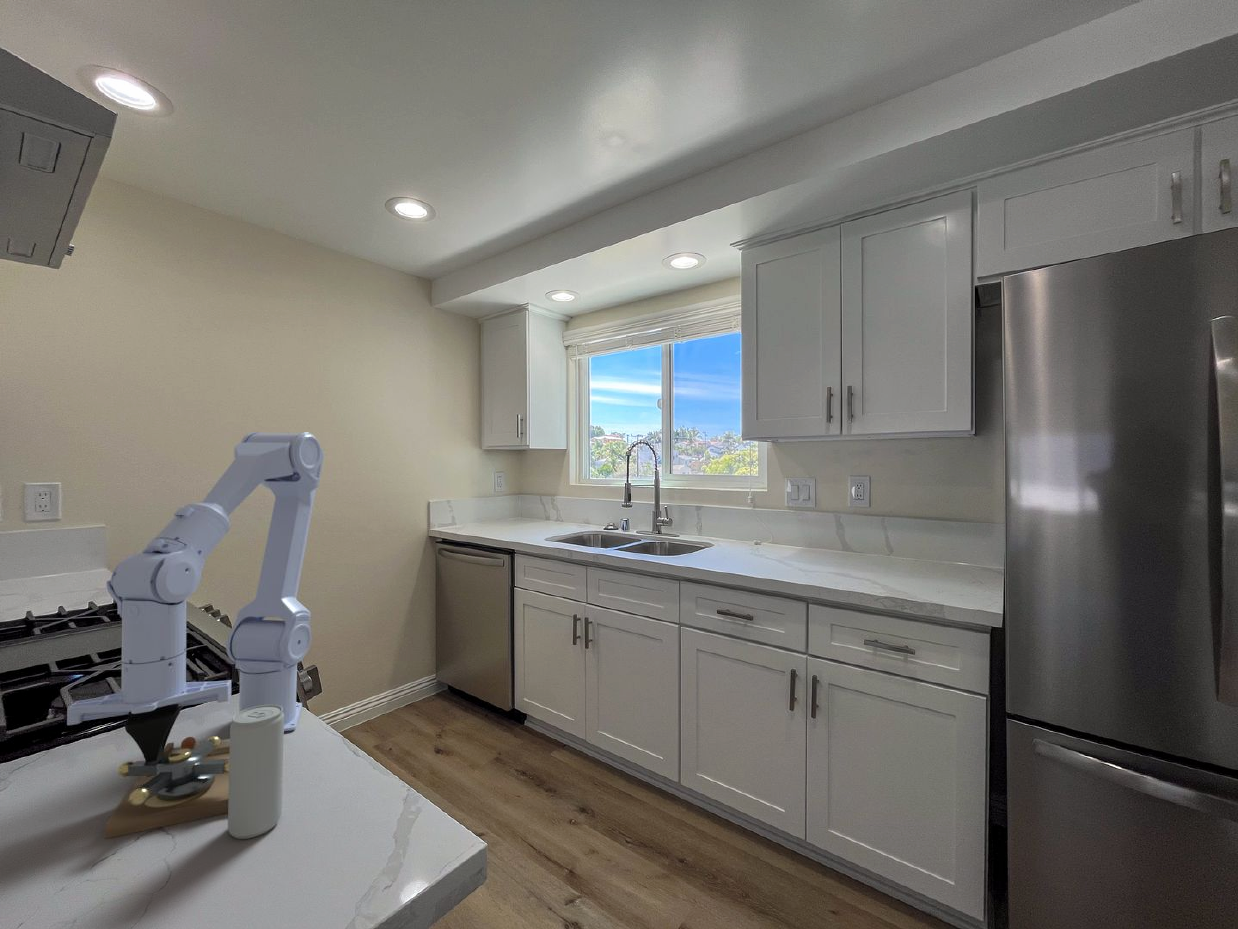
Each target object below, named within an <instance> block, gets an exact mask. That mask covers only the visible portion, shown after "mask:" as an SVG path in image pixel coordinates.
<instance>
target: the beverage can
mask: <svg viewBox="0 0 1238 929" xmlns="http://www.w3.org/2000/svg"><path fill="white" fill-rule="evenodd" d="M282 711H283V708H282V707H281V706H279V705H260V706H255V707H251V708H248V709H245V710H242V711H240V712H239V711H238V712H237V713H235V714H234V715H233V716H232V718H231V724H230V727H229V739H230V750H229V796H228V813H227V815H228V816H227V817H228V818H227V830H228V832H229V834H230V835H231V837H233V838H235V839H238V840H247V839H251V838H256V837H259V836H261V835H263V834H265V833H267V832H269V831H270V830H272V829H273V828H274V827H275V826H276V825H277V823H278V822H279V820H280V819H281V818H282V813H283V812H282V811H283V810H282V808H283V806H282V805H283V776H284V775H283V774H284V773H283V772H284V767H283V766H284V743H285V742H284V738H285V736H284V735H285V731H284V714H283V712H282Z"/></svg>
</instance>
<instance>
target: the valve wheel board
mask: <svg viewBox="0 0 1238 929" xmlns="http://www.w3.org/2000/svg"><path fill="white" fill-rule="evenodd" d="M202 743H203V742H200V743H197V741H196V738H195V737H193V736H187V737H186V738H184V739H183V740H182V741H181V743H180V746H178V747H177V746H176V747H175V742H167V743H166V745H165V748H164V751H163V752H164V757H166V756H168V755H169V754H171V753H172V752H175V751H177V750H181V749H190V750H193V749H195V748H196V747H198V746H199V745H200V744H202ZM229 750H230V738H226V739H225V738H224V739H221V744H220V746H219V747H218V748H217V749H215V750H214V751H212V752H211V753H210V754H208V755H207V756H206V757H204V758H203V759H202V760H205V759H229ZM154 777H155V776H149V777H147V776H139V778H138V779H137V781H136V783H134V785H133V787H132V788H131V789H130V790H129V792H128V793H127V795H126V796H125V797H124V798H123V800H122V801H121V802H120V804H119V805H118V807H117V808H116V810H115V811H114V812H113V814H112V815H111V816H110V818H109V819H108V820H107V822H106V823H105V835H104V837H105V839H109V838H110V839H111V838H116V837H120V836H125V835H130V834H134V833H138V832H144V831H149V830H153V829H157V828H163V827H166V826H167V827H168V826H172V825H176V824H177V825H178V824H181V823H186V822H187V823H188V822H191V821H196V820H200V819H205V818H210V817H215V816H218V815H219V816H221V815H223V814H224V815H225V814H228V796H229V774H226V773H224V774H215V781H214V783H213V784H212V785H211V786H210V787H209V788H207V789H206V790H204V791H202V792H200V793H198V794H196V795H193V796H190V797H187V798H183V799H178V800H170V801H165V800H160V799H158V798H157V796H156V794H155V795H154V796H152V797H151V798H150V799H148V800H147V801H146V802H145V803H143V804H141V805H139V806H133V805H131V804H130V802H129V797H130V795H131V794H132V793H133V792H134V791H135V790H136V789H138V788H140V787H141V786H142V785H144V784H145V783H147V782H148V781H150V780H151V779H152V778H154Z"/></svg>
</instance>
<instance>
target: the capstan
mask: <svg viewBox="0 0 1238 929" xmlns="http://www.w3.org/2000/svg"><path fill="white" fill-rule="evenodd" d="M221 740H222V739H221V737H219V736H217V735H213V736H210V737H208V738H207V739H206V740H205V741H203V742H201V743H202V744H200V743H199V744H200V745H199V746H198V747H196V748H195V749H193V750H190V749H181V750H177V751H175V752H172V753H171V754H169V755H168V756H166V757H164V758H162V759H161V760H159V761H146V760H144V761H143V760H138V761H137V760H136V761H133V760H128V761H124V762H122V763H121V764H120V765H119V767H118V769H117V775H118V776H119V777H122V778H127V777H141V776H155V777H154V778H152V779H151V780H150V781H148V782H147V783H145V784H144V785H142V786H141V787H140V788H138V789H136V790H135V791H134V792H133V793H132V794H131V795H130V797H129V802H130V804H131V805H133V806H139V805H141V804H143V803H145V802H146V801H147V800H148V799H150V798H151V797H152V796H154V795H155V794H156V796H157V798H158V799H160V800H165V801H170V800H178V799H183V798H187V797H190V796H193V795H196V794H198V793H200V792H202V791H204V790H206V789H207V788H209V787H210V786H211V785H212V784H213V783H214V781H215V774H224V773H226V774H229V759H205V760H202V759H203V758H204V757H206V756H207V755H208V754H210V753H211V752H212V751H214V750H215V749H217V748H218V747H219V746H220V744H221Z"/></svg>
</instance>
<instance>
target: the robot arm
mask: <svg viewBox="0 0 1238 929" xmlns="http://www.w3.org/2000/svg"><path fill="white" fill-rule="evenodd" d="M233 448H234V450H233V453H234V460H233V461H232V462H231V463H230V465H229V466H228V467H227V469H225V471H224V473H223V474H222V475H221V477H220V478H219V479H218V480H217V482H216V483H215V484H214V485H213V487H212V488H211V490H210V491H209V492H208V494H207V495H206V496H205V497H204V499H203V500H202V501H201V502H200V503H199V502H196V503H189V504H186V505H184V507H179V508H178V509H176V511H175V512H174V514H173V516H174V517H173V518H172V519H171V520H170V521H169V522H168V523H167V524H166V526H165V527H163V529H161V531H160V532H159V533H158V534H157V535H156V536H155V537H154V538H153V539H151V540H150V541H149V542H148V544H147V545H146V546H145V548H144V549H143V550H142V552H137V553H134V554H130V555H129V556H127V557H125V558H124V559H122V561H120V562H119V563H118V564H117V565H116V566H115V568H114V569H113V571H112V574H111V577H110V580H107V581H106V588H107V592H108V594H109V596H110V597H111V598H112V599H113V600H114V601H115V603H116V605H117V615H119V617H120V618H121V688H120V689H121V692H117V693H116V692H115V693H112V694H109V695H103V696H99V697H95V698H93V697H92V698H89V699H83V700H76V701H74V702H72V704H70V706H68V707H67V709H66V710H67V711H66V714H67V715H66V717H67V718H66V725H67V726H73V725H74V726H75V725H79V724H80V723H83V722H85V721H91V720H97V719H99V720H100V719H104V718H110V717H118V716H124V715H125V716H126V715H128V717H127V721H126V722H125V724H124V729H125V731H126V733H127V734H128V735H129V736H130V737H131V738H132V739H133V741H134V742H135V743H136V745H137V747H138V748H139V749H140V751H141V754H142V755H143V758H144V761H159V760H161V759H162V758H164V752H163V751H164V748H165V747H166V745H167V743H168V742H167V741H168V738H169V737H170V736H169V735H170V734H171V732H172V729H173V726H174V725H175V722H176V720H177V719H178V716H179V715H180V712H181V711H182V709H183V707H184V706H185V707H186V706H191V705H197V704H204V703H206V704H207V703H211V702H216V703H224V702H228V701H229V700H230V698H231V696H232V679H228V680H217V681H189V682H187V681H186V680H187V674H186V673H187V599H188V598H189V597H190V596H192V595H193V593H194V592H196V591H197V589H198V587H199V585H200V583H201V578H202V571H203V569H204V567H205V566H206V559H207V558H208V557H209V556H210V555H211V553H213V551H214V550H215V549H216V547H217V546H218V544H220V542H221V541H222V540H223V538H224V537H225V536H226V535H227V534H228V533H229V531H230V528H231V523H230V519H229V516H230V515H231V514H233V512H234V511H235V510H236V509H237V508H238V507H239V506H240V505H241V504H242V503H243V502H244V501H245V500H246V499H247V498H248V497H249V496H250V495H251V494H252V493H253V492H254V491H255V490H256V489H257V487H259V486H260V485H262V486H263V487H265V488H267V489H270V491H271V492H272V494H273V495H274V497H275V498H274V504H273V507H272V508H273V509H272V514H271V519H270V522H269V523H270V524H269V529H268V534H267V538H266V545H265V550H264V554H263V559H262V564H261V569H260V574H259V580H258V586H257V589H256V595H255V598H254V599H253V600H252V601H249V603H247V604H246V605H244V606H243V607H242V608H241V609H239V610H238V611H237V615H236V620H235V622H234V625H233V627H232V628H231V630H229V634H228V635H227V639H226V643H225V644H226V646H225V647H226V654H227V656H228V658H229V659H230V660H231V661H233V662H235V669H236V670H237V669H238V670H240V671H239V695H238V696H239V702H238V703H239V704H238V712H240V711H242V710H245V709H248V708H251V707H255V706H260V705H279V706H281V707H282V708H283V711H282V712H283V714H284V732H289V731H294V730H296V729H297V727H298V724H299V723H298V722H299V718H300V715H301V711H302V707H303V702H297V681H298V680H297V677H298V664H299V663H300V662H302V661H303V658H304V657H305V656H306V655H307V654H308V651H309V649H310V648H311V645H312V644H311V643H312V631H311V617H312V613H311V611H310V610H309V609H308V608H306V607H305V606H304V605H303V604H302V603H301V602H300V601H298V599H297V596H298V592H299V591H298V590H299V586H300V581H301V580H300V579H301V575H302V569H303V563H304V559H305V552H306V547H307V541H308V535H309V529H310V525H311V519H312V518H311V517H312V512H313V508H314V502H315V497H316V491H317V488H318V487H320V486H319V485H320V479H321V474H322V468H323V464H324V462H323V461H324V457H325V452H324V450H323V449H322V446H321V444H320V442H319V440H318V438H317V437H316V436H315V435H314V434H312V433H310V432H300V433H297V432H296V433H294V432H293V433H290V432H289V433H286V432H283V433H281V432H280V433H279V432H277V433H273V432H272V433H270V432H269V433H268V432H266V433H263V432H259V431H257V432H255V431H254V432H250V433H247V434H245V436H244V437H243V438H242V439H241V441H240V443H238V444H237V445H236V446H234V447H233ZM266 618H279V619H281V620H278V619H274V620H273V619H266ZM147 777H149V776H147Z"/></svg>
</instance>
